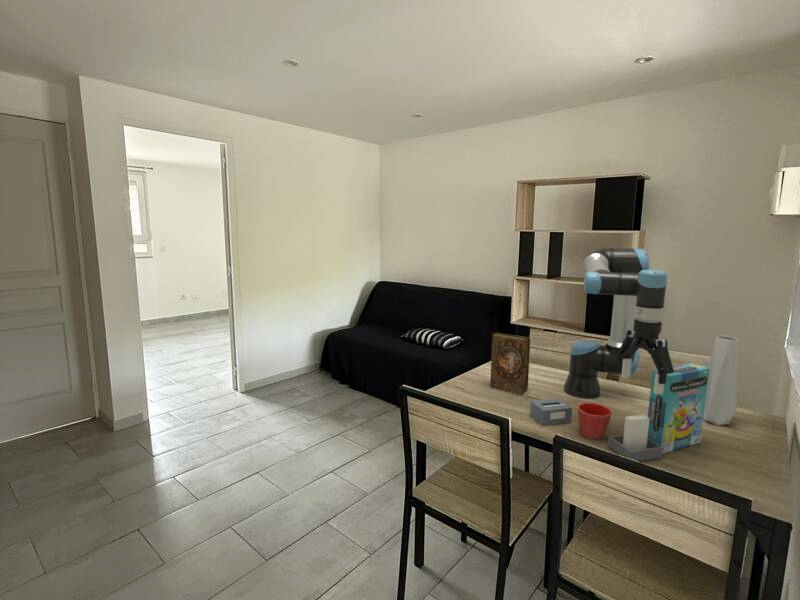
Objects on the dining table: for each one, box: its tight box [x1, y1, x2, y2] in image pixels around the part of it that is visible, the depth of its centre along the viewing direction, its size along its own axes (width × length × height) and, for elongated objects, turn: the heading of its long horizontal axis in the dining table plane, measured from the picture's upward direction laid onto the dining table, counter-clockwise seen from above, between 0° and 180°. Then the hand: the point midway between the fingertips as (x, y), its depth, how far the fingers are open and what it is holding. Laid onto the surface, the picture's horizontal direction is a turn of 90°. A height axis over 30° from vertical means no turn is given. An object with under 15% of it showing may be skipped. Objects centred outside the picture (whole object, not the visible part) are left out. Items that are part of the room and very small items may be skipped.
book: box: [489, 332, 531, 395], centre depth 191 cm, size 16×6×25 cm, turn 58°
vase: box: [703, 335, 740, 426], centre depth 160 cm, size 12×12×33 cm
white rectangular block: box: [623, 414, 650, 451], centre depth 138 cm, size 7×2×12 cm, turn 102°
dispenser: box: [529, 398, 573, 426], centre depth 163 cm, size 12×9×6 cm
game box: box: [647, 362, 710, 455], centre depth 142 cm, size 20×6×27 cm, turn 114°
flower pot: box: [577, 402, 613, 440], centre depth 151 cm, size 11×11×10 cm
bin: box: [607, 434, 664, 463], centre depth 139 cm, size 12×10×4 cm
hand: (641, 385), depth 135 cm, fingers open, 13 cm apart
